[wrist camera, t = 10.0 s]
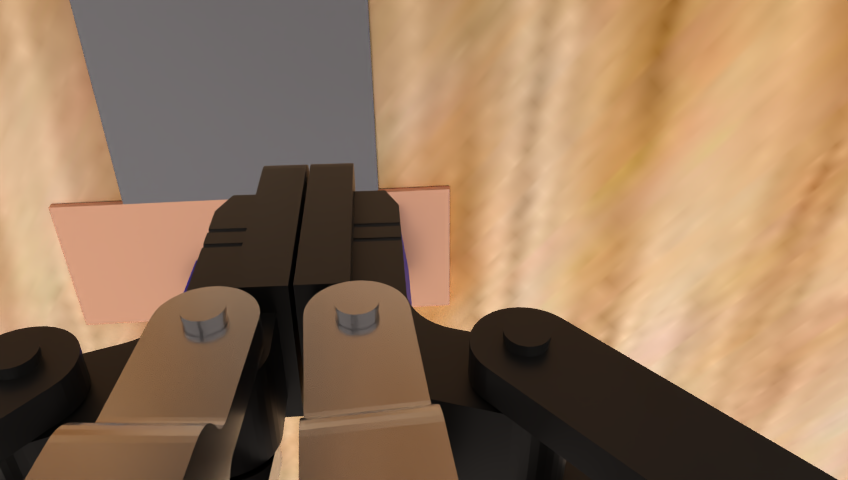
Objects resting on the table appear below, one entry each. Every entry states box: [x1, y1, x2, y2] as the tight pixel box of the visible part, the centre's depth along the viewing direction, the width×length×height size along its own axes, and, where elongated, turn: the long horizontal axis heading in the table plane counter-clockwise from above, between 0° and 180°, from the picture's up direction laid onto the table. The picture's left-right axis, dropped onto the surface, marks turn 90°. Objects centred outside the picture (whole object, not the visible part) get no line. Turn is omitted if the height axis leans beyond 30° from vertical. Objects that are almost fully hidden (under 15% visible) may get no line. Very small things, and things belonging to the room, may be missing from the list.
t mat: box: [49, 0, 450, 325], centre depth 38 cm, size 20×22×1 cm
